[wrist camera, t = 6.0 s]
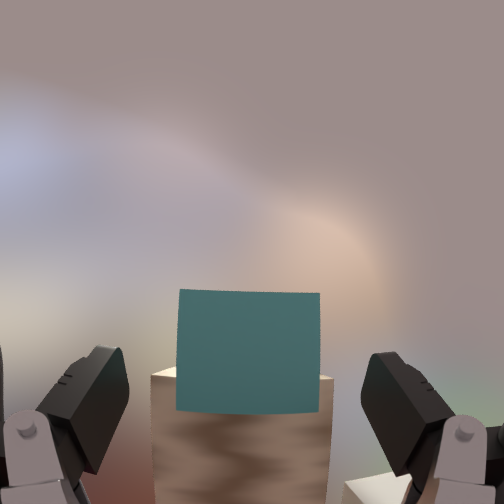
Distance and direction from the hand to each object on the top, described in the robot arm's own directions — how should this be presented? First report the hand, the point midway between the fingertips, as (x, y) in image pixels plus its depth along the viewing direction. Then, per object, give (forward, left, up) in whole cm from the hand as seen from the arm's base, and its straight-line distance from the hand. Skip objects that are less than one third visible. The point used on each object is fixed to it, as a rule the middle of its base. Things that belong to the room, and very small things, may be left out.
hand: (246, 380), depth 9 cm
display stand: (0, +14, -33) cm, 36 cm away
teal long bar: (0, +10, -1) cm, 10 cm away
